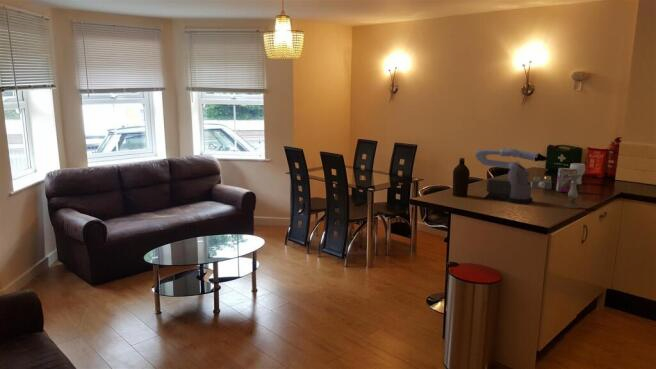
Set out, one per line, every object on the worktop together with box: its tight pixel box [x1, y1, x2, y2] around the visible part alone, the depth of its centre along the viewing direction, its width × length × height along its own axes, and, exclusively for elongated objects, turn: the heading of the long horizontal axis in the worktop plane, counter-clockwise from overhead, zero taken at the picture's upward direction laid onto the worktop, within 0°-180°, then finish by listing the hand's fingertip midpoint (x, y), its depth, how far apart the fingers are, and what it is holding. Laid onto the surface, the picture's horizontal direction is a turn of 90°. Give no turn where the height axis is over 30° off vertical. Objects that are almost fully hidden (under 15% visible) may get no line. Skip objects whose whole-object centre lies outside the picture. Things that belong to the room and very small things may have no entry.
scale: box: [529, 179, 553, 190], centre depth 371 cm, size 13×17×5 cm
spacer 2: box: [543, 175, 552, 182], centre depth 388 cm, size 5×5×5 cm
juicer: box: [483, 163, 535, 206], centre depth 322 cm, size 30×16×24 cm, turn 58°
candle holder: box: [563, 173, 583, 210], centre depth 305 cm, size 9×9×20 cm
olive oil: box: [452, 157, 471, 198], centre depth 334 cm, size 11×11×25 cm
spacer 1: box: [532, 176, 541, 181], centre depth 384 cm, size 5×5×5 cm
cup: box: [569, 162, 586, 185], centre depth 386 cm, size 11×11×15 cm
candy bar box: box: [555, 167, 577, 193], centre depth 353 cm, size 11×5×16 cm, turn 84°
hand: (546, 159), depth 377 cm, fingers open, 7 cm apart
